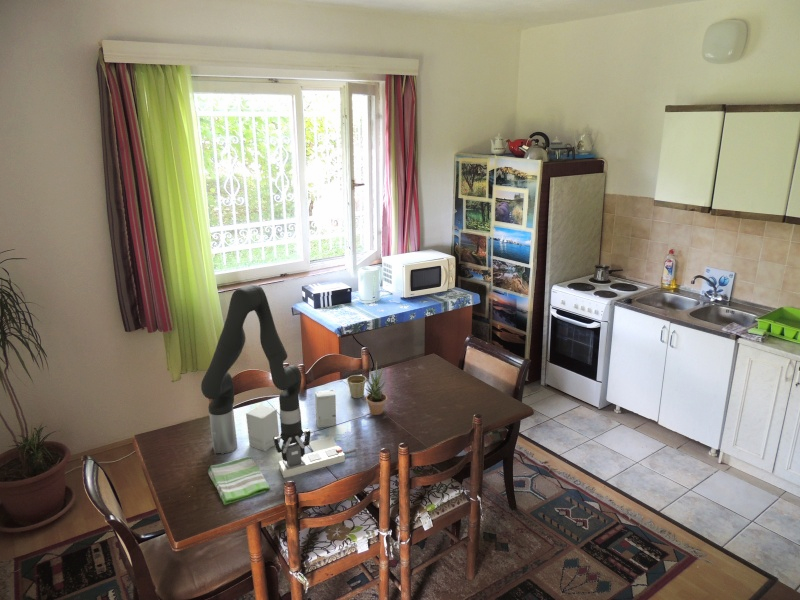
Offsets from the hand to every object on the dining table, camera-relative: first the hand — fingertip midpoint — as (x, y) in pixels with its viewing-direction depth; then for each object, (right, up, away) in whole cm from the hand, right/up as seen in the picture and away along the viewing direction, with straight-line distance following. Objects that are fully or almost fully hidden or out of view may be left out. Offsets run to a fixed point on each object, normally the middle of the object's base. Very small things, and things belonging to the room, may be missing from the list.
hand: (293, 457), depth 213 cm
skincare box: (+8, +5, +34) cm, 36 cm away
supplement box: (-16, 0, +19) cm, 25 cm away
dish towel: (-19, -8, -5) cm, 21 cm away
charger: (0, -2, +1) cm, 2 cm away
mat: (+9, 0, +17) cm, 19 cm away
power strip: (+9, -3, +6) cm, 11 cm away
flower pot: (+19, +13, +60) cm, 64 cm away
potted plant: (+29, +9, +44) cm, 54 cm away
